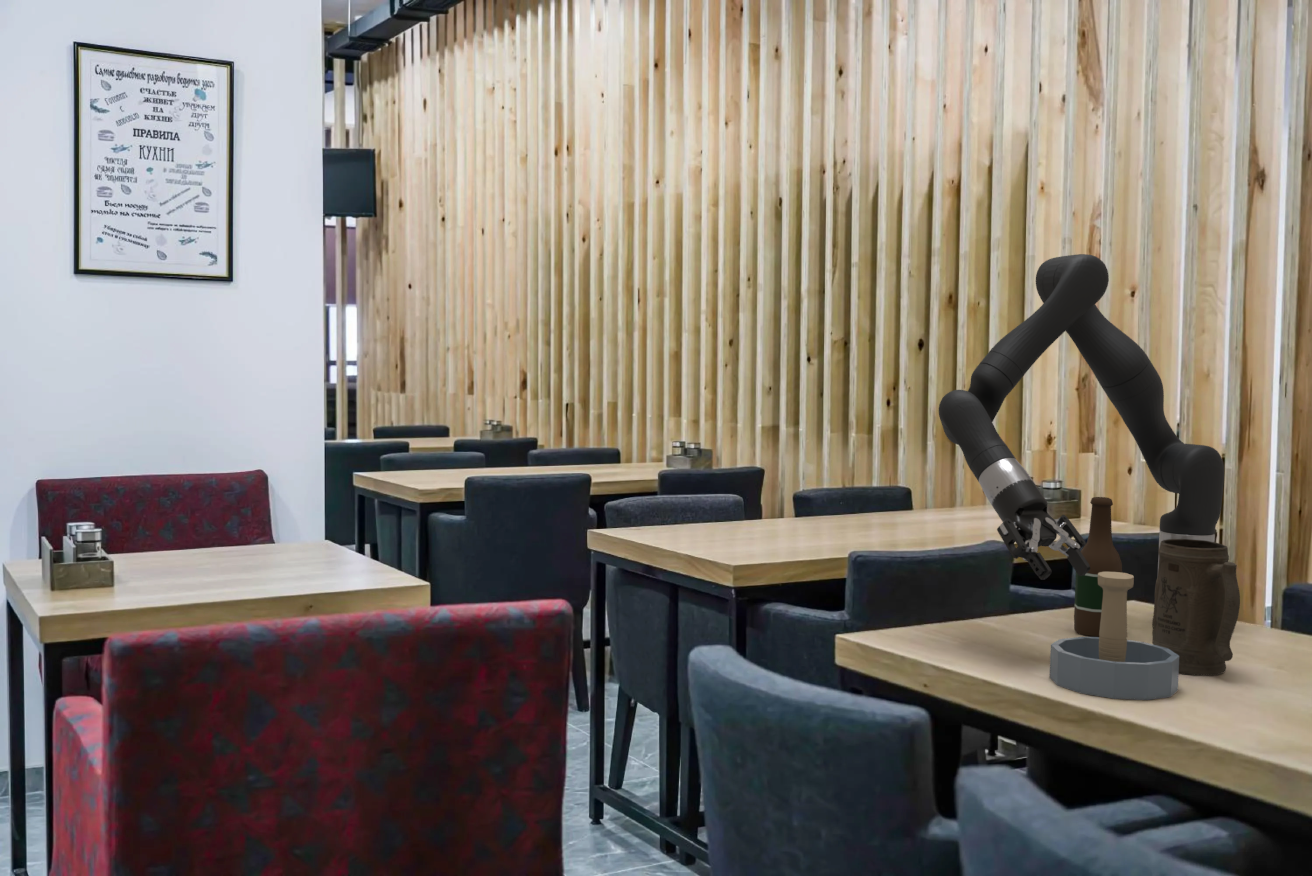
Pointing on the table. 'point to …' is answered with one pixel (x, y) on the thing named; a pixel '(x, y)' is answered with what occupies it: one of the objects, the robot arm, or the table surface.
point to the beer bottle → (1095, 569)
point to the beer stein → (1196, 604)
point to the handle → (1114, 615)
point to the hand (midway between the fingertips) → (1066, 574)
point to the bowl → (1114, 669)
